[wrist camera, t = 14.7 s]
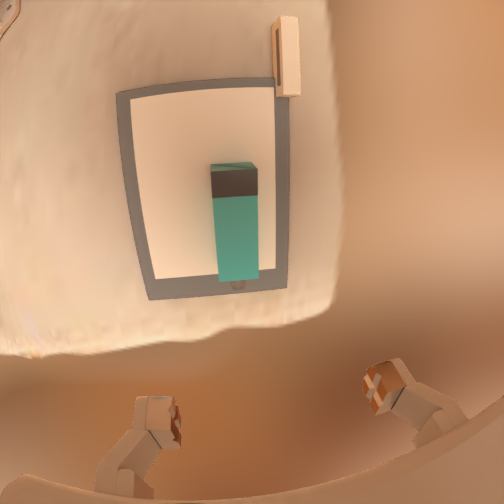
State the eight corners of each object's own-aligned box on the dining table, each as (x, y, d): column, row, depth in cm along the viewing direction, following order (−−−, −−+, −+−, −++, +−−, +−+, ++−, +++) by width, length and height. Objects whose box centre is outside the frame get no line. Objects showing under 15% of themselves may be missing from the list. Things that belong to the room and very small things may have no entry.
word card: (271, 27, 22) (280, 15, 19) (287, 28, 23) (297, 17, 19) (273, 97, 26) (283, 94, 22) (289, 97, 26) (301, 95, 23)
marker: (210, 164, 27) (210, 171, 24) (251, 161, 28) (257, 168, 24) (218, 278, 33) (220, 298, 30) (253, 275, 34) (259, 295, 30)
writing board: (118, 93, 23) (115, 93, 23) (286, 79, 25) (288, 78, 24) (149, 296, 34) (148, 300, 33) (285, 284, 36) (287, 288, 35)
